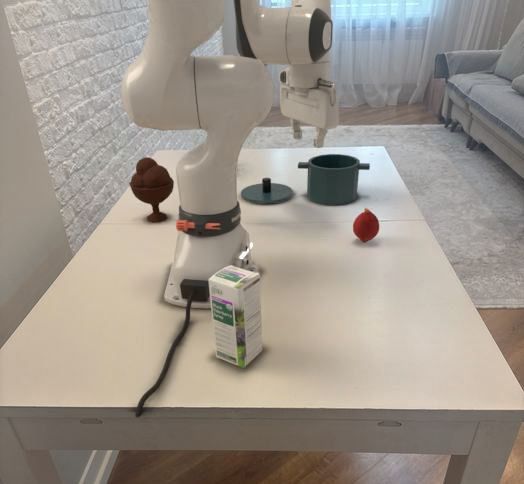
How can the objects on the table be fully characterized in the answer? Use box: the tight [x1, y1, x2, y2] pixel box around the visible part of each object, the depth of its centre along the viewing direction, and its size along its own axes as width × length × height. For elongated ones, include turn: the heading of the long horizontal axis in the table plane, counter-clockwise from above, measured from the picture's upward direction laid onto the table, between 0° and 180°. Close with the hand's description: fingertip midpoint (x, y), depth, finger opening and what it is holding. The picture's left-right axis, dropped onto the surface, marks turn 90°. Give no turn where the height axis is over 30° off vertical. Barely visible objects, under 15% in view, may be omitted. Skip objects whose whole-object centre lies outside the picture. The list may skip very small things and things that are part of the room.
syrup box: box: [209, 265, 263, 369], centre depth 76 cm, size 6×6×14 cm
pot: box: [297, 153, 371, 206], centre depth 134 cm, size 14×19×10 cm
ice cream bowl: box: [128, 156, 175, 224], centre depth 123 cm, size 11×11×15 cm
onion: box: [352, 207, 380, 243], centre depth 110 cm, size 6×6×8 cm
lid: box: [240, 177, 294, 204], centre depth 137 cm, size 15×15×5 cm
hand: (307, 142), depth 116 cm, fingers open, 8 cm apart
